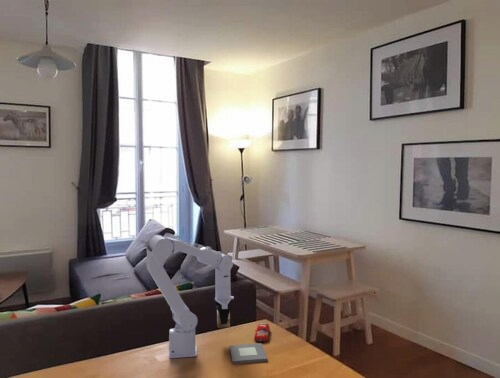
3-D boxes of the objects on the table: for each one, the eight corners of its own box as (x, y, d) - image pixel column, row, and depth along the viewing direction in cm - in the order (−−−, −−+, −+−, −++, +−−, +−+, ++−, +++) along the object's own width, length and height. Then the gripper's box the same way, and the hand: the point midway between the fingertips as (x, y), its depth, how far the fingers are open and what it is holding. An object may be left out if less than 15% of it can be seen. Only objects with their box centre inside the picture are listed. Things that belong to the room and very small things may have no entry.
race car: (267, 344, 147) (267, 334, 147) (253, 343, 148) (253, 333, 148) (271, 330, 160) (271, 320, 160) (258, 329, 161) (258, 319, 161)
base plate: (232, 363, 131) (232, 360, 131) (229, 348, 143) (229, 345, 143) (267, 361, 133) (267, 358, 133) (261, 345, 145) (261, 342, 145)
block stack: (217, 327, 145) (217, 311, 144) (217, 323, 149) (216, 307, 149) (229, 327, 145) (229, 311, 145) (228, 322, 150) (228, 307, 150)
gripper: (235, 291, 140) (236, 328, 141) (231, 280, 154) (231, 313, 155) (216, 292, 139) (216, 329, 140) (213, 280, 153) (214, 314, 154)
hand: (223, 321), depth 147 cm, fingers closed on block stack, 4 cm apart
